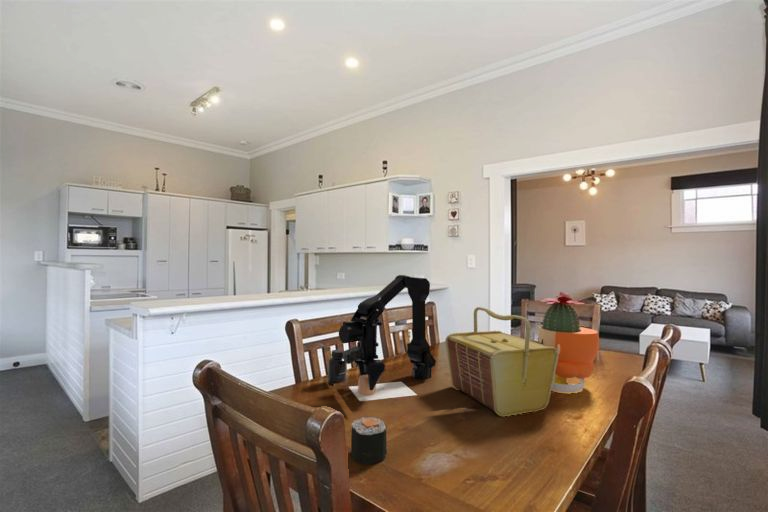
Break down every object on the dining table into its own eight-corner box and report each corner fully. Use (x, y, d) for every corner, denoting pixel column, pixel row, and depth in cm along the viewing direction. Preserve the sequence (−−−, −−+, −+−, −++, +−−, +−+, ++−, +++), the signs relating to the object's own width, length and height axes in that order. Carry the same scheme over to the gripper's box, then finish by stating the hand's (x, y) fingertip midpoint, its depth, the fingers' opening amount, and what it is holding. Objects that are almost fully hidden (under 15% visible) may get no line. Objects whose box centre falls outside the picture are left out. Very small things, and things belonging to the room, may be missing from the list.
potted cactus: (532, 389, 142) (534, 294, 142) (538, 373, 162) (541, 290, 162) (599, 400, 132) (601, 298, 132) (597, 382, 152) (599, 293, 152)
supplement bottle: (342, 387, 139) (343, 353, 139) (325, 385, 140) (325, 352, 140) (348, 381, 146) (349, 349, 146) (331, 379, 147) (332, 348, 147)
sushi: (375, 443, 98) (376, 412, 98) (391, 459, 91) (392, 425, 91) (345, 450, 94) (346, 418, 94) (360, 467, 87) (361, 432, 87)
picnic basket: (442, 389, 139) (444, 306, 139) (500, 382, 149) (502, 304, 149) (492, 423, 112) (494, 320, 112) (560, 412, 121) (562, 317, 121)
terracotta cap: (372, 388, 134) (372, 374, 134) (377, 394, 129) (377, 379, 129) (356, 390, 132) (356, 375, 132) (361, 396, 127) (361, 380, 127)
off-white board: (401, 385, 142) (401, 381, 142) (417, 399, 129) (417, 394, 129) (348, 390, 135) (348, 386, 135) (359, 405, 122) (359, 401, 122)
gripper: (338, 334, 136) (337, 379, 136) (352, 347, 119) (351, 397, 119) (368, 333, 140) (367, 376, 140) (386, 345, 123) (385, 394, 123)
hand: (367, 385), depth 130 cm, fingers open, 9 cm apart
